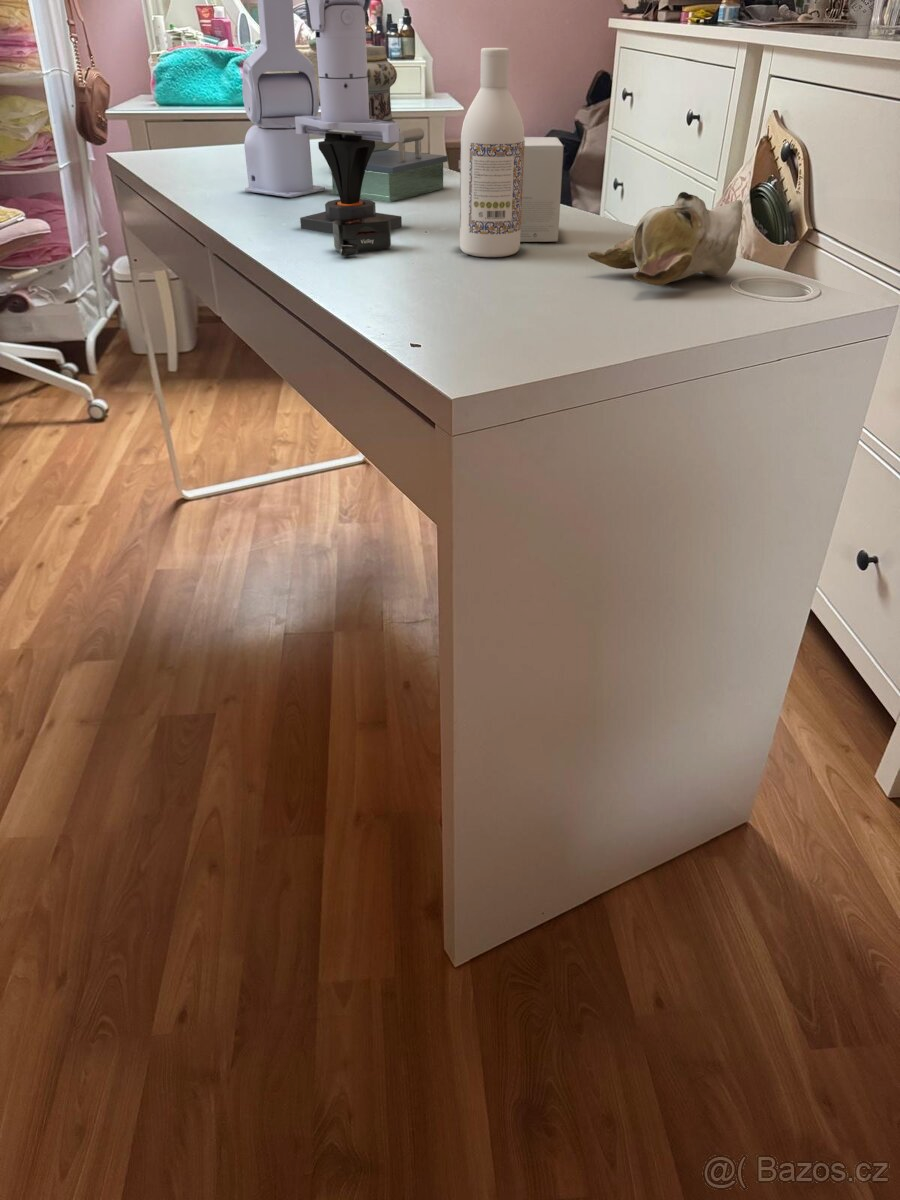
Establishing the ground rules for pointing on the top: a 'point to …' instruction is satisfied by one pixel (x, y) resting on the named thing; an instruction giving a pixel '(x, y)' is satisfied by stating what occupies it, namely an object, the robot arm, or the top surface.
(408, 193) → the green hinged box
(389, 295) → the top surface
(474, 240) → the bath foam
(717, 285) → the top surface
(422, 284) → the top surface
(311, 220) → the control block
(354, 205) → the button
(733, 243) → the ceramic sculpture
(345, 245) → the dark grey gadget
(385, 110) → the apothecary jar
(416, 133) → the lid
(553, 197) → the small box
